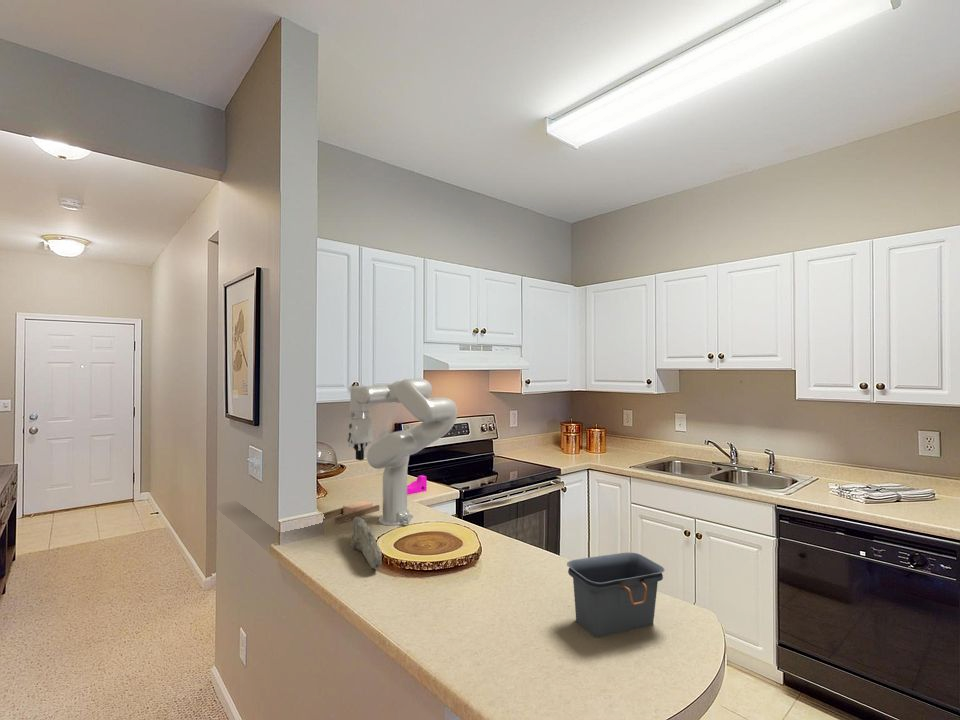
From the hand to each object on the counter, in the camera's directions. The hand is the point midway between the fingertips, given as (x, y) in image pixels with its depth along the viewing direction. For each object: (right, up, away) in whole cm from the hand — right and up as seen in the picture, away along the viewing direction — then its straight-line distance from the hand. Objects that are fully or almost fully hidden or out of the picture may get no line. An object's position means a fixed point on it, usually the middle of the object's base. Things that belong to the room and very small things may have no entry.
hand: (359, 459), depth 206 cm
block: (-1, -22, -1) cm, 22 cm away
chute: (-3, -22, -4) cm, 23 cm away
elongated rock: (+13, -22, -46) cm, 53 cm away
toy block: (+16, -23, +31) cm, 42 cm away
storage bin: (+82, -22, -89) cm, 123 cm away
